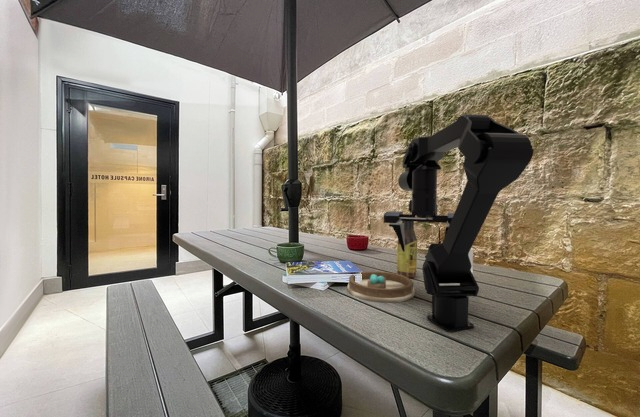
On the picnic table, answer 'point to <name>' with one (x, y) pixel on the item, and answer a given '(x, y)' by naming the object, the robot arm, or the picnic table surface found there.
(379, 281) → the toy potted plant
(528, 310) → the picnic table surface
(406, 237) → the sauce bottle
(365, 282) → the ring tray
